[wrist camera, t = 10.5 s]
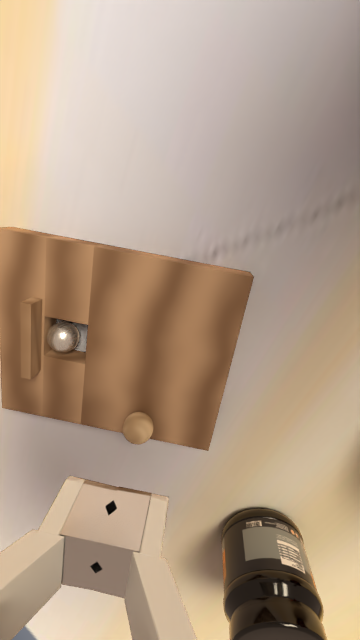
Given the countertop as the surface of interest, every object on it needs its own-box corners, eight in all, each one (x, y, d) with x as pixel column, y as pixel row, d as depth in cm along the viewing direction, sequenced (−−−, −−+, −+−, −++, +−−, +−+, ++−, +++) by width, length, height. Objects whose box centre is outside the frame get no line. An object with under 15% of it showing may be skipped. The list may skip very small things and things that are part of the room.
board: (250, 272, 29) (257, 281, 25) (208, 435, 36) (208, 464, 31) (13, 227, 30) (-20, 228, 25) (15, 395, 36) (-10, 418, 32)
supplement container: (227, 561, 42) (233, 685, 31) (214, 506, 39) (216, 622, 28) (303, 558, 41) (339, 687, 30) (296, 500, 38) (334, 621, 26)
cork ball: (157, 409, 32) (152, 428, 29) (153, 432, 33) (148, 454, 30) (128, 403, 32) (120, 422, 29) (125, 426, 33) (117, 447, 30)
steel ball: (58, 331, 29) (40, 320, 30) (58, 360, 30) (40, 349, 31) (86, 324, 31) (68, 315, 33) (85, 352, 32) (67, 341, 34)
